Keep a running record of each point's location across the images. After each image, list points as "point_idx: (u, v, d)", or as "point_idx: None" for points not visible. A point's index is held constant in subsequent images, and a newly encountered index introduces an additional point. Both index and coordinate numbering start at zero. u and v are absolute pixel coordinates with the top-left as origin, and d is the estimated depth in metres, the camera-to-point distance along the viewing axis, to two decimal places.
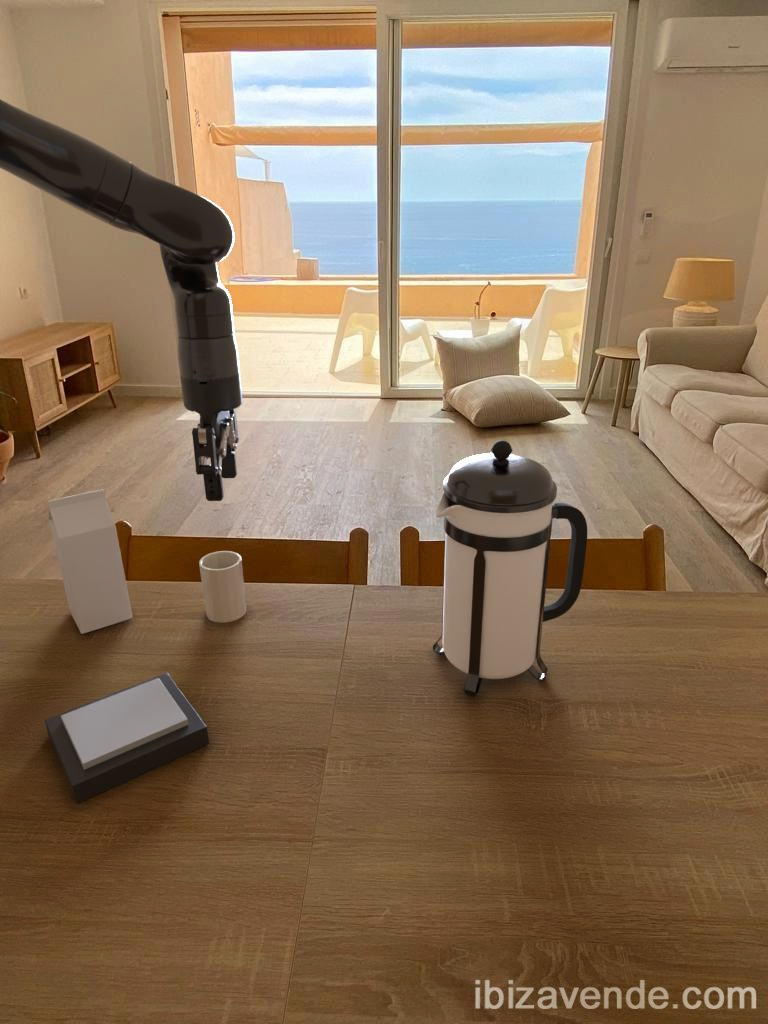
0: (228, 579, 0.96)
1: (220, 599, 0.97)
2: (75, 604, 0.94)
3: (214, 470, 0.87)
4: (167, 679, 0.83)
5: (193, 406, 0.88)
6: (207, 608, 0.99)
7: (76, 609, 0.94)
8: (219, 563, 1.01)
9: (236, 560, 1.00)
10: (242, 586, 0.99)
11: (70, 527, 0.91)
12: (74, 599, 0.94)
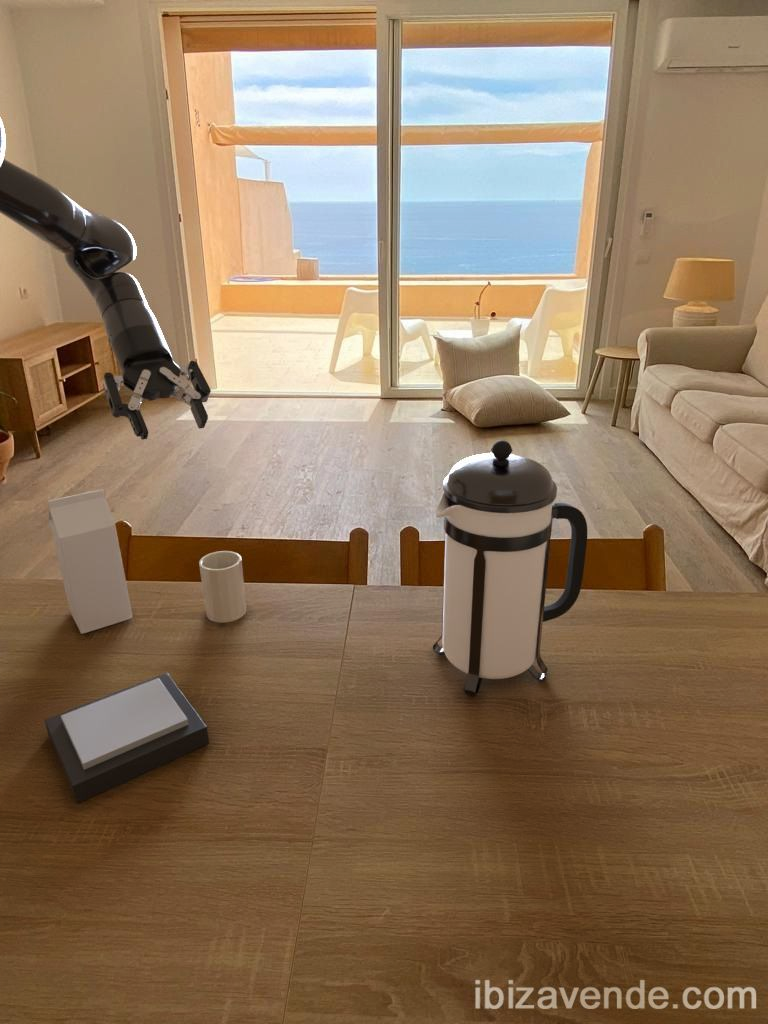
0: (228, 579, 0.96)
1: (220, 599, 0.97)
2: (75, 604, 0.94)
3: None
4: (167, 679, 0.83)
5: None
6: (207, 608, 0.99)
7: (76, 609, 0.94)
8: (219, 563, 1.01)
9: (236, 560, 1.00)
10: (242, 586, 0.99)
11: (70, 527, 0.91)
12: (74, 599, 0.94)
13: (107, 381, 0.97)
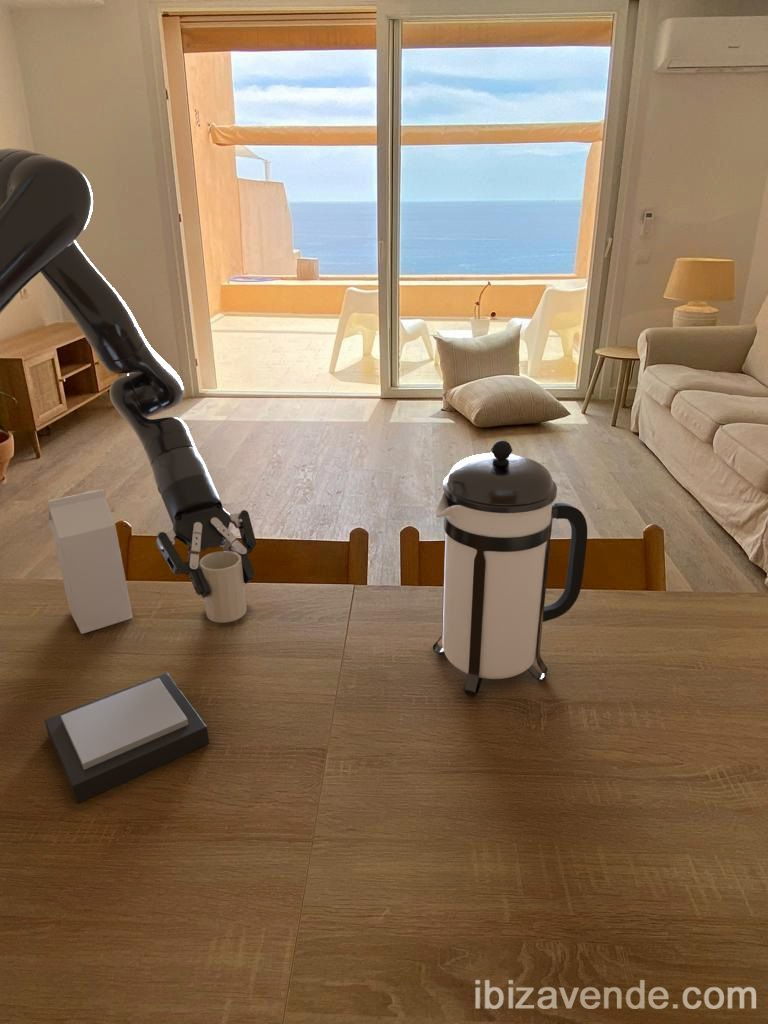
0: (228, 579, 0.96)
1: (220, 599, 0.97)
2: (75, 604, 0.94)
3: None
4: (167, 679, 0.83)
5: None
6: (207, 608, 0.99)
7: (76, 609, 0.94)
8: (219, 563, 1.01)
9: (236, 560, 1.00)
10: (242, 586, 0.99)
11: (70, 527, 0.91)
12: (74, 599, 0.94)
13: (163, 542, 0.96)
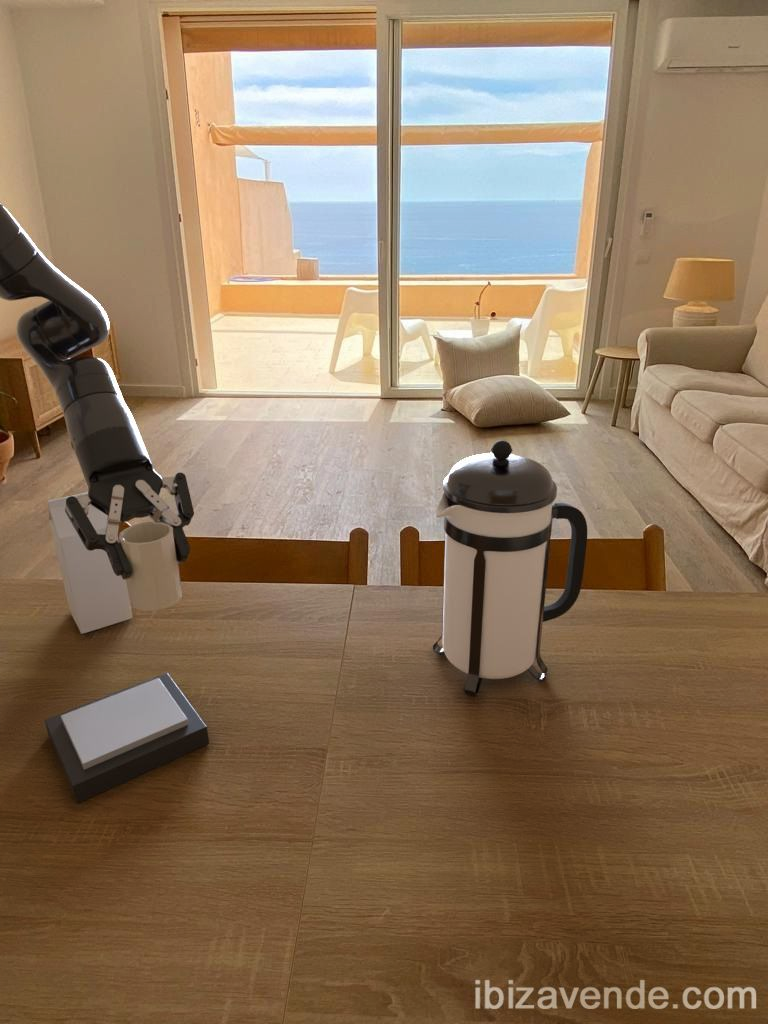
0: (154, 556, 0.76)
1: (145, 581, 0.77)
2: (75, 604, 0.94)
3: None
4: (167, 679, 0.83)
5: (148, 456, 0.82)
6: (130, 593, 0.79)
7: (76, 609, 0.94)
8: (147, 537, 0.81)
9: (167, 533, 0.80)
10: (174, 565, 0.79)
11: (70, 527, 0.91)
12: (74, 599, 0.94)
13: (72, 509, 0.76)
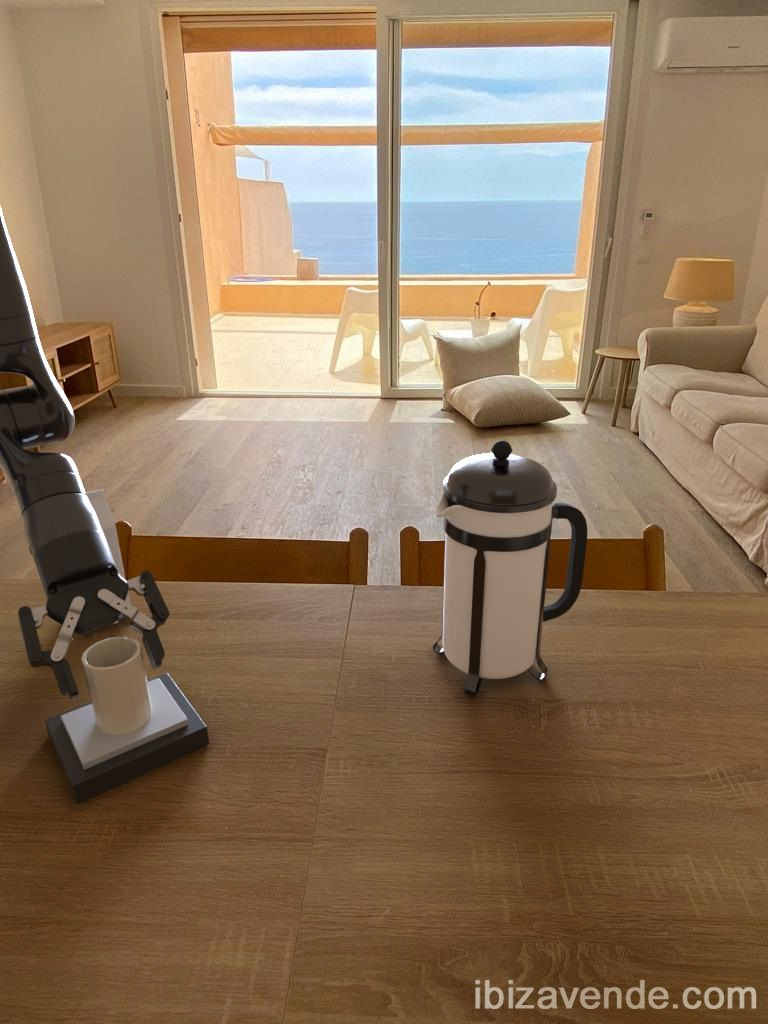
0: (120, 680, 0.71)
1: (110, 705, 0.72)
2: None
3: None
4: (167, 679, 0.83)
5: (112, 560, 0.76)
6: (95, 716, 0.73)
7: None
8: (114, 653, 0.75)
9: (135, 650, 0.74)
10: (142, 686, 0.74)
11: None
12: None
13: (22, 620, 0.70)
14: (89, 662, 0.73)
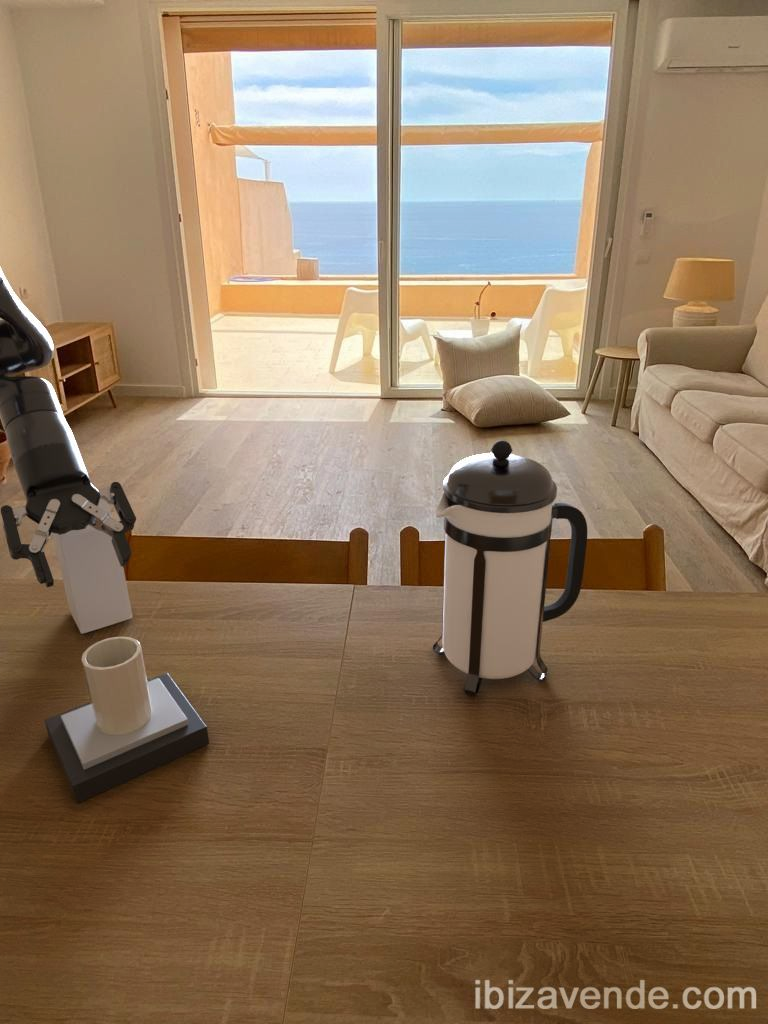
0: (120, 680, 0.71)
1: (110, 705, 0.72)
2: (75, 604, 0.94)
3: None
4: (167, 679, 0.83)
5: (85, 471, 0.85)
6: (95, 716, 0.73)
7: (76, 609, 0.94)
8: (114, 653, 0.75)
9: (135, 650, 0.74)
10: (142, 686, 0.74)
11: None
12: (74, 599, 0.94)
13: (4, 517, 0.80)
14: (89, 662, 0.73)
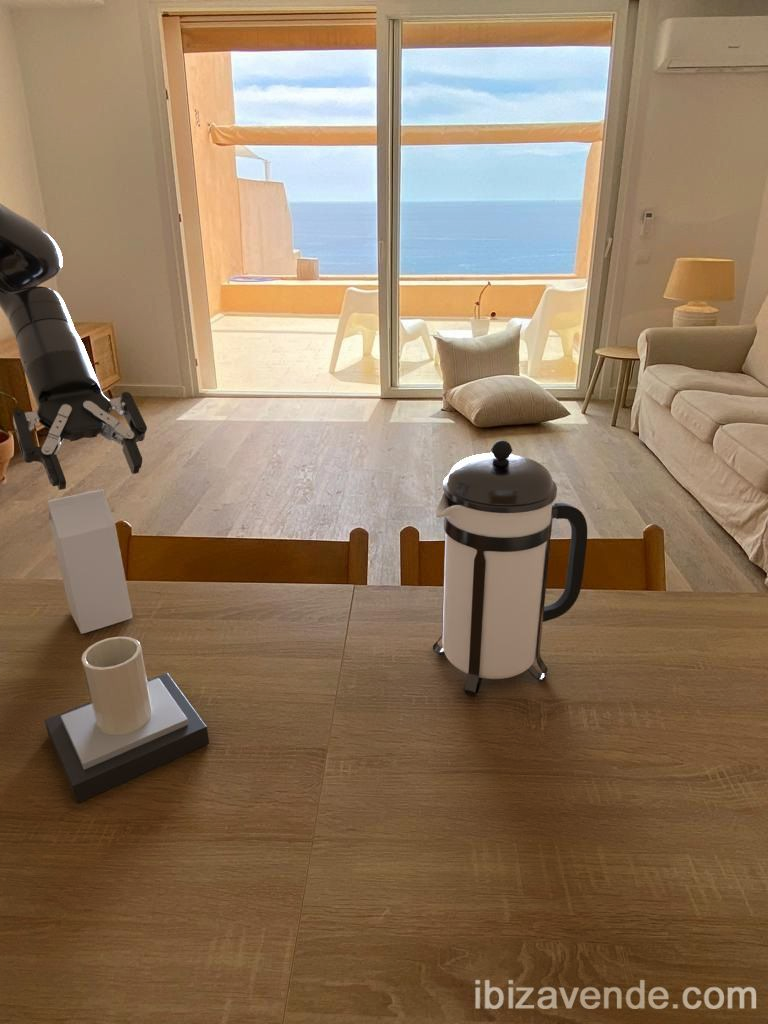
0: (120, 680, 0.71)
1: (110, 705, 0.72)
2: (75, 604, 0.94)
3: None
4: (167, 679, 0.83)
5: (96, 380, 0.86)
6: (95, 716, 0.73)
7: (76, 609, 0.94)
8: (114, 653, 0.75)
9: (135, 650, 0.74)
10: (142, 686, 0.74)
11: (70, 527, 0.91)
12: (74, 599, 0.94)
13: (16, 419, 0.80)
14: (89, 662, 0.73)
